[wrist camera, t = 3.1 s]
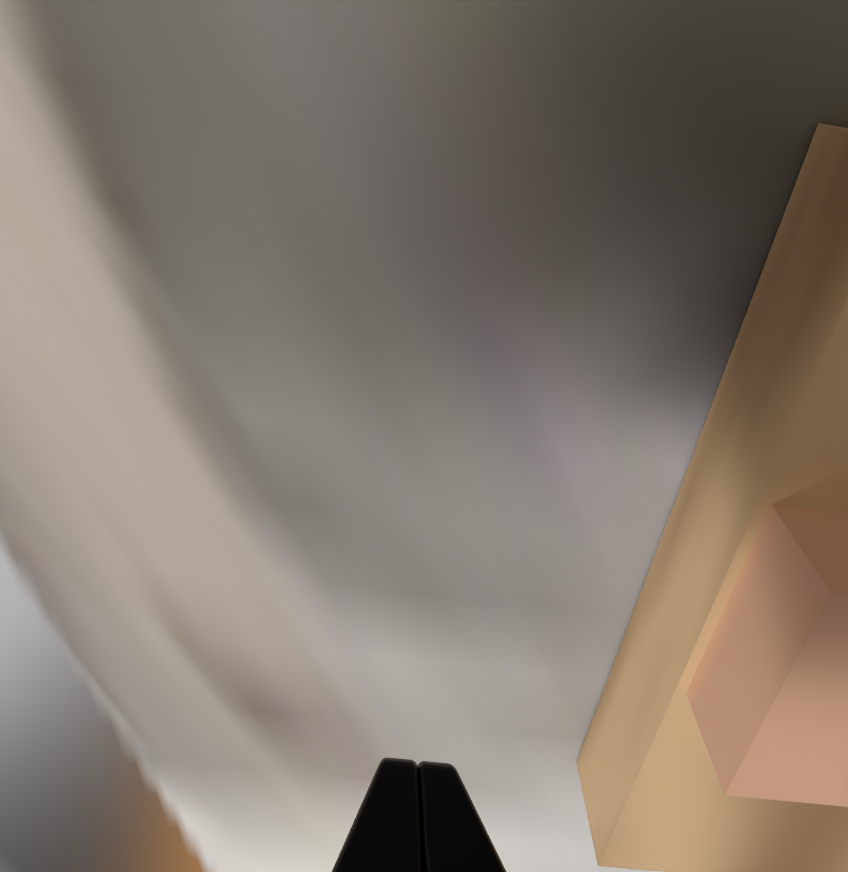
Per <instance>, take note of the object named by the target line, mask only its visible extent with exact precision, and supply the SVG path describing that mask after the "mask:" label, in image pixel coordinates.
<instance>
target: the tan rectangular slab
mask: <svg viewBox="0 0 848 872" xmlns="http://www.w3.org/2000/svg"><path fill="white" fill-rule="evenodd" d="M771 504H773V505H781V506H788V507H796V508H804V509H811V510H819V511H827V512H834V513H842V514H848V128H844V127H838V126H833V125H827V124H821V123H818V125H817V128H816V130H815V133H814V136H813V138H812V141H811V144H810V146H809V149H808V152H807V154H806V157H805V159H804V162H803V165H802V167H801V170H800V173H799V175H798V178H797V181H796V183H795V186H794V189H793V191H792V194H791V196H790V199H789V202H788V204H787V207H786V210H785V212H784V215H783V218H782V220H781V223H780V225H779V228H778V231H777V233H776V236H775V239H774V241H773V244H772V247H771V249H770V252H769V255H768V257H767V260H766V262H765V265H764V268H763V270H762V273H761V276H760V278H759V281H758V284H757V286H756V289H755V291H754V294H753V297H752V299H751V302H750V305H749V307H748V310H747V313H746V315H745V318H744V320H743V323H742V326H741V328H740V331H739V334H738V336H737V339H736V342H735V344H734V347H733V350H732V352H731V355H730V357H729V360H728V363H727V365H726V368H725V371H724V373H723V376H722V379H721V381H720V384H719V386H718V389H717V392H716V394H715V397H714V400H713V402H712V405H711V408H710V410H709V413H708V416H707V418H706V421H705V423H704V426H703V429H702V431H701V434H700V437H699V439H698V442H697V445H696V447H695V450H694V452H693V455H692V458H691V460H690V463H689V466H688V468H687V471H686V474H685V476H684V479H683V482H682V484H681V487H680V489H679V492H678V495H677V497H676V500H675V503H674V505H673V508H672V511H671V513H670V516H669V518H668V521H667V524H666V526H665V529H664V532H663V534H662V537H661V540H660V542H659V545H658V547H657V550H656V553H655V555H654V558H653V561H652V563H651V566H650V569H649V571H648V574H647V577H646V579H645V582H644V584H643V587H642V590H641V592H640V595H639V598H638V600H637V603H636V606H635V608H634V611H633V613H632V616H631V619H630V621H629V624H628V627H627V629H626V632H625V635H624V637H623V640H622V643H621V645H620V648H619V650H618V653H617V656H616V658H615V661H614V664H613V666H612V669H611V672H610V674H609V677H608V679H607V682H606V685H605V687H604V690H603V693H602V695H601V698H600V701H599V703H598V706H597V709H596V711H595V714H594V716H593V719H592V722H591V724H590V727H589V730H588V732H587V735H586V738H585V740H584V743H583V745H582V748H581V751H580V753H579V756H578V759H577V761H576V762H577V767H578V772H579V777H580V782H581V786H582V791H583V796H584V801H585V806H586V810H587V815H588V820H589V825H590V829H591V834H592V839H593V844H594V849H595V853H596V858H597V863H598V866H605V867H617V868H628V869H640V870H651V871H663V872H848V807H843V806H832V805H822V804H811V803H801V802H790V801H780V800H769V799H759V798H748V797H738V796H727V795H724V793H723V790H722V787H721V785H720V782H719V780H718V777H717V774H716V772H715V769H714V766H713V764H712V761H711V758H710V756H709V753H708V751H707V748H706V745H705V743H704V740H703V737H702V735H701V732H700V730H699V727H698V724H697V722H696V719H695V716H694V714H693V711H692V709H691V706H690V703H689V701H688V698H687V695H686V692H687V689H688V687H689V685H690V683H691V681H692V678H693V676H694V674H695V672H696V669H697V667H698V665H699V663H700V661H701V658H702V656H703V654H704V652H705V649H706V647H707V645H708V643H709V641H710V638H711V636H712V634H713V632H714V629H715V627H716V625H717V623H718V621H719V618H720V616H721V614H722V612H723V609H724V607H725V605H726V603H727V601H728V598H729V596H730V594H731V592H732V589H733V587H734V585H735V583H736V581H737V578H738V576H739V574H740V572H741V569H742V567H743V565H744V563H745V561H746V558H747V556H748V554H749V552H750V549H751V547H752V545H753V543H754V541H755V538H756V536H757V534H758V532H759V529H760V527H761V525H762V523H763V521H764V518H765V516H766V514H767V512H768V509H769V507H770V505H771Z"/></svg>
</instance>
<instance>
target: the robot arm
mask: <svg viewBox="0 0 848 872" xmlns="http://www.w3.org/2000/svg"><path fill="white" fill-rule="evenodd" d="M332 872H506V870H505V868H504V866H503V864H502V862H501V860H500V858H499V856H498V854H497V852H496V850H495V848H494V846H493V844H492V842H491V839H490V837H489V835H488V833H487V831H486V829H485V827H484V825H483V823H482V821H481V819H480V817H479V815H478V813H477V811H476V809H475V807H474V805H473V803H472V801H471V799H470V797H469V794H468V792H467V790H466V788H465V786H464V784H463V782H462V780H461V778H460V776H459V774H458V772H457V770H456V769H455V768H454V767H453V766H452V765H451V764H447V763H437V762H427V761H423V762H420V763H419V764H418V766H417V764H416V763H415V762H414V761H412V760H407V759H397V758H384V759H383V760H382V761H381V762H380V764H379V766H378V768H377V770H376V773H375V775H374V777H373V779H372V782H371V784H370V786H369V789H368V791H367V793H366V795H365V798H364V800H363V802H362V804H361V807H360V809H359V811H358V814H357V816H356V818H355V820H354V823H353V825H352V827H351V829H350V832H349V834H348V836H347V839H346V841H345V843H344V845H343V848H342V850H341V852H340V854H339V857H338V859H337V861H336V863H335V866H334V868H333V870H332Z"/></svg>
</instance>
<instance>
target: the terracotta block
mask: <svg viewBox="0 0 848 872" xmlns="http://www.w3.org/2000/svg"><path fill="white" fill-rule="evenodd" d="M686 695H687V698H688V701H689V703H690V706H691V709H692V711H693V714H694V716H695V719H696V722H697V724H698V727H699V730H700V732H701V735H702V737H703V740H704V743H705V745H706V748H707V751H708V753H709V756H710V758H711V761H712V764H713V766H714V769H715V772H716V774H717V777H718V780H719V782H720V785H721V787H722V790H723V793H724V795H727V796H738V797H748V798H759V799H769V800H780V801H790V802H801V803H811V804H822V805H832V806H843V807H848V514H842V513H834V512H827V511H819V510H811V509H804V508H796V507H788V506H781V505H773V504H771V505H770V507H769V509H768V512H767V514H766V516H765V518H764V521H763V523H762V525H761V527H760V529H759V532H758V534H757V536H756V538H755V541H754V543H753V545H752V547H751V549H750V552H749V554H748V556H747V558H746V561H745V563H744V565H743V567H742V569H741V572H740V574H739V576H738V578H737V581H736V583H735V585H734V587H733V589H732V592H731V594H730V596H729V598H728V601H727V603H726V605H725V607H724V609H723V612H722V614H721V616H720V618H719V621H718V623H717V625H716V627H715V629H714V632H713V634H712V636H711V638H710V641H709V643H708V645H707V647H706V649H705V652H704V654H703V656H702V658H701V661H700V663H699V665H698V667H697V669H696V672H695V674H694V676H693V678H692V681H691V683H690V685H689V687H688V689H687V692H686Z"/></svg>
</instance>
